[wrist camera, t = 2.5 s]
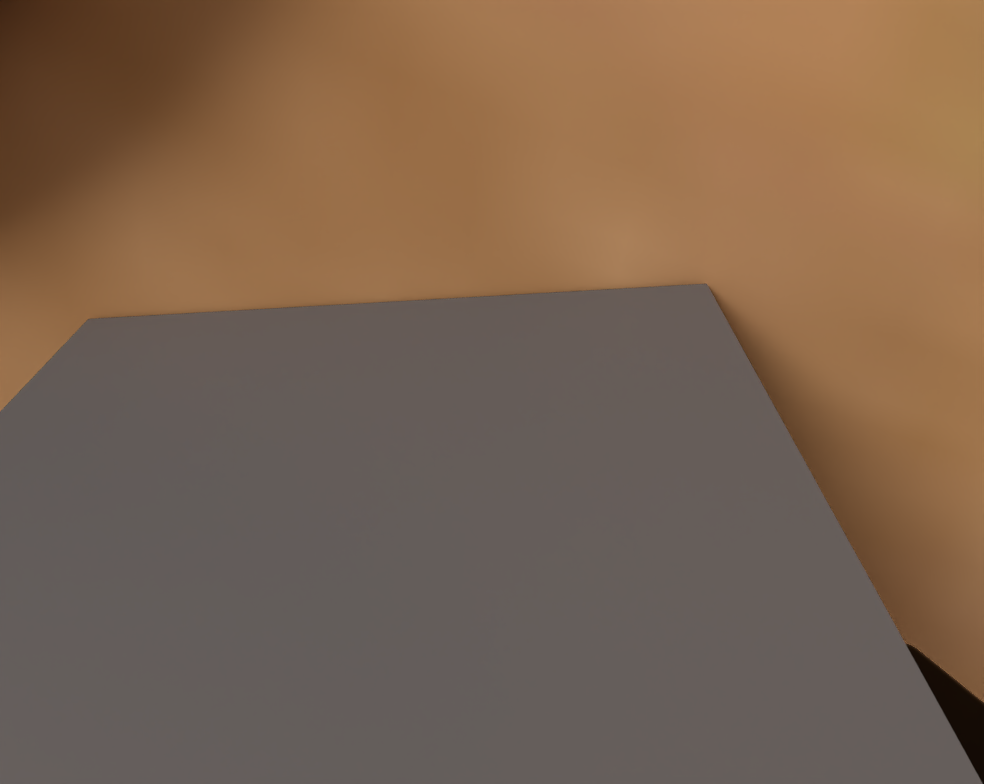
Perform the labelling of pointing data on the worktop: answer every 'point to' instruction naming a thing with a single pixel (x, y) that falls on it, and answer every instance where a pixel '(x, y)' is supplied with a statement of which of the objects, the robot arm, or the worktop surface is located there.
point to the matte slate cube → (436, 558)
